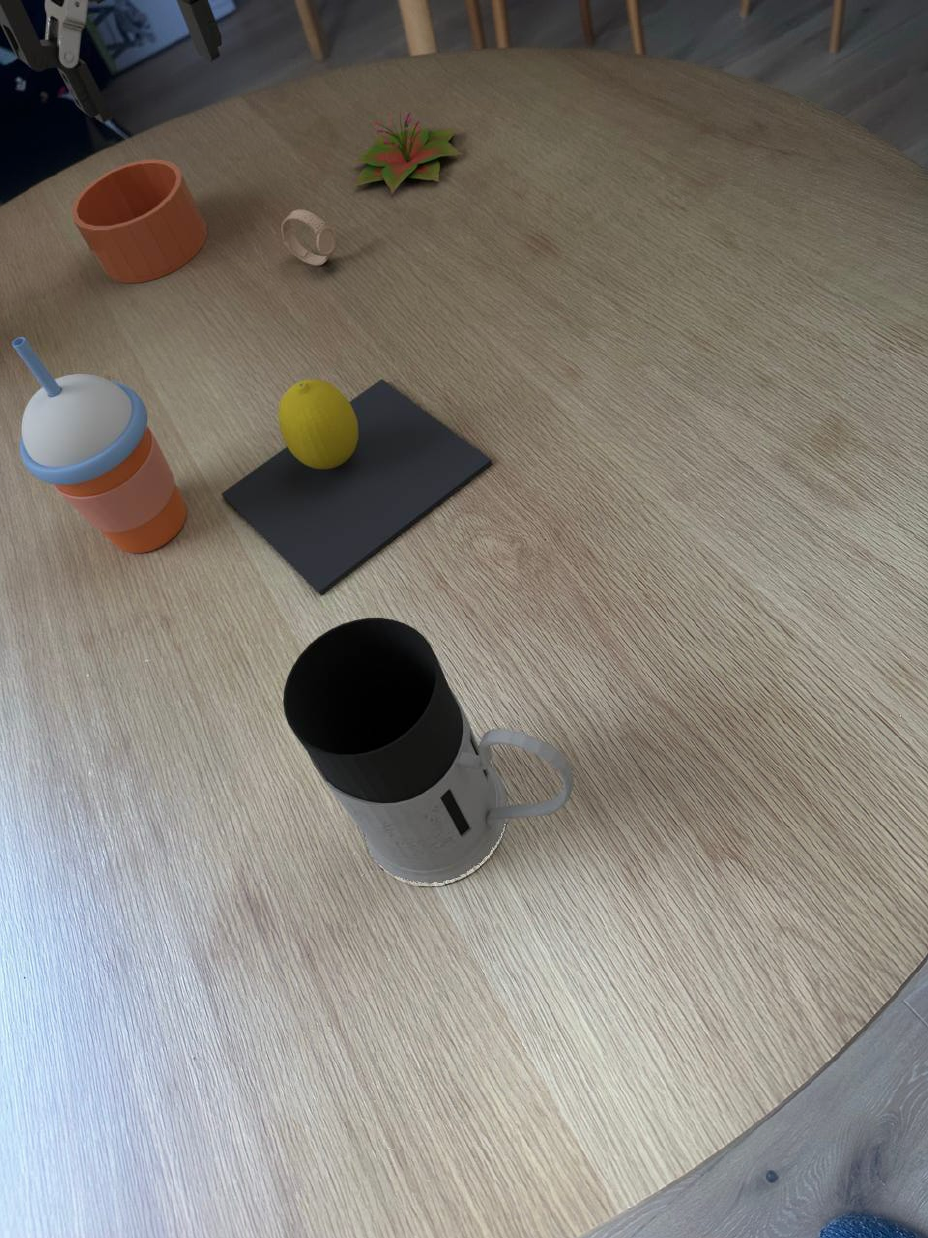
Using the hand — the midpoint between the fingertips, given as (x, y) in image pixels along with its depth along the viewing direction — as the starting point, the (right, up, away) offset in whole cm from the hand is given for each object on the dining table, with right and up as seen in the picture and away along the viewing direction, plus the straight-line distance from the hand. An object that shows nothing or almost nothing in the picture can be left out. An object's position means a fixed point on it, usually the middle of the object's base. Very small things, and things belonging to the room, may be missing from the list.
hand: (157, 86), depth 66 cm
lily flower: (+15, +10, +33) cm, 37 cm away
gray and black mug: (+21, -48, -9) cm, 53 cm away
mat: (+12, -25, +9) cm, 29 cm away
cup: (-11, +2, +33) cm, 35 cm away
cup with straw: (-4, -28, +11) cm, 31 cm away
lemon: (+11, -24, +10) cm, 28 cm away
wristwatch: (+7, -2, +26) cm, 27 cm away
